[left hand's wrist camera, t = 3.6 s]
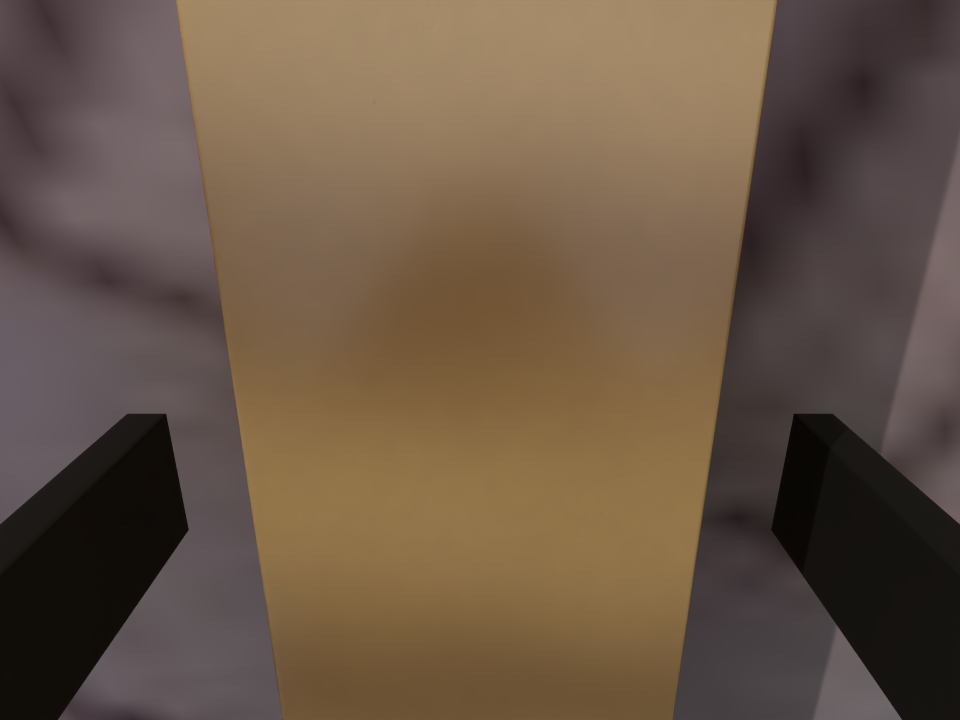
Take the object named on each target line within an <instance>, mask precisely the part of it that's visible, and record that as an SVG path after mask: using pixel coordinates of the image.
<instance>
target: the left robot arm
mask: <svg viewBox="0 0 960 720" xmlns="http://www.w3.org/2000/svg"><path fill="white" fill-rule="evenodd" d="M188 530H189V529H188V524H187V519H186V514H185V509H184V504H183V498H182V493H181V488H180V483H179V478H178V473H177V468H176V463H175V458H174V452H173V447H172V442H171V437H170V432H169V427H168V422H167V417H166V414H127V415H126V416H124V417H123V418H122V419H121V420H120V421H119V422H118V423H116V424H115V425H114V426H113V427H112V428H111V429H109V430H108V431H107V432H106V433H105V434H104V435H103V436H101V437H100V438H99V439H98V440H97V441H96V442H95V443H93V444H92V445H91V446H90V447H89V448H88V449H86V450H85V451H84V452H83V453H82V454H81V455H80V456H78V457H77V458H76V459H75V460H74V461H73V462H72V463H70V464H69V465H68V466H67V467H66V468H65V469H63V470H62V471H61V472H60V473H59V474H58V475H57V476H55V477H54V478H53V479H52V480H51V481H50V482H49V483H47V484H46V485H45V486H44V487H43V488H42V489H40V490H39V491H38V492H37V493H36V494H35V495H34V496H32V497H31V498H30V499H29V500H28V501H27V502H26V503H24V504H23V505H22V506H21V507H20V508H19V509H17V510H16V511H15V512H14V513H13V514H12V515H11V516H9V517H8V518H7V519H6V520H5V521H4V522H3V523H1V524H0V720H58V719H59V717H60V716H61V714H62V713H63V711H64V710H65V708H66V707H67V706H68V704H69V703H70V701H71V700H72V698H73V697H74V695H75V694H76V693H77V691H78V690H79V688H80V687H81V685H82V684H83V682H84V681H85V679H86V678H87V677H88V675H89V674H90V672H91V671H92V669H93V668H94V666H95V665H96V663H97V662H98V661H99V659H100V658H101V656H102V655H103V653H104V652H105V650H106V649H107V648H108V646H109V645H110V643H111V642H112V640H113V639H114V637H115V636H116V634H117V633H118V632H119V630H120V629H121V627H122V626H123V624H124V623H125V621H126V620H127V619H128V617H129V616H130V614H131V613H132V611H133V610H134V608H135V607H136V605H137V604H138V603H139V601H140V600H141V598H142V597H143V595H144V594H145V592H146V591H147V590H148V588H149V587H150V585H151V584H152V582H153V581H154V579H155V578H156V576H157V575H158V574H159V572H160V571H161V569H162V568H163V566H164V565H165V563H166V562H167V561H168V559H169V558H170V556H171V555H172V553H173V552H174V550H175V549H176V547H177V546H178V545H179V543H180V542H181V540H182V539H183V537H184V536H185V534H186V533H187V532H188ZM771 530H772V532H773V533H774V534H775V536H776V537H777V539H778V540H779V542H780V543H781V545H782V546H783V548H784V549H785V550H786V552H787V553H788V555H789V556H790V558H791V559H792V561H793V562H794V563H795V565H796V566H797V568H798V569H799V571H800V572H801V574H802V575H803V577H804V578H805V579H806V581H807V582H808V584H809V585H810V587H811V588H812V590H813V591H814V592H815V594H816V595H817V597H818V598H819V600H820V601H821V603H822V604H823V606H824V607H825V608H826V610H827V611H828V613H829V614H830V616H831V617H832V619H833V620H834V621H835V623H836V624H837V626H838V627H839V629H840V630H841V632H842V633H843V635H844V636H845V637H846V639H847V640H848V642H849V643H850V645H851V646H852V648H853V649H854V650H855V652H856V653H857V655H858V656H859V658H860V659H861V661H862V662H863V664H864V665H865V666H866V668H867V669H868V671H869V672H870V674H871V675H872V677H873V678H874V679H875V681H876V682H877V684H878V685H879V687H880V688H881V690H882V691H883V693H884V694H885V695H886V697H887V698H888V700H889V701H890V703H891V704H892V706H893V707H894V708H895V710H896V711H897V713H898V714H899V716H900V717H901V719H902V720H960V524H959V523H957V522H956V521H955V520H954V519H953V518H952V517H951V516H949V515H948V514H947V513H946V512H945V511H944V510H943V509H941V508H940V507H939V506H938V505H937V504H936V503H934V502H933V501H932V500H931V499H930V498H929V497H928V496H926V495H925V494H924V493H923V492H922V491H921V490H920V489H918V488H917V487H916V486H915V485H914V484H913V483H911V482H910V481H909V480H908V479H907V478H906V477H905V476H903V475H902V474H901V473H900V472H899V471H898V470H896V469H895V468H894V467H893V466H892V465H891V464H890V463H888V462H887V461H886V460H885V459H884V458H883V457H882V456H880V455H879V454H878V453H877V452H876V451H875V450H873V449H872V448H871V447H870V446H869V445H868V444H867V443H865V442H864V441H863V440H862V439H861V438H860V437H859V436H857V435H856V434H855V433H854V432H853V431H852V430H850V429H849V428H848V427H847V426H846V425H845V424H844V423H842V422H841V421H840V420H839V419H838V418H837V417H836V416H834V415H833V414H794V416H793V422H792V427H791V432H790V437H789V442H788V447H787V452H786V457H785V463H784V468H783V473H782V478H781V483H780V488H779V493H778V498H777V503H776V509H775V514H774V519H773V524H772V529H771Z"/></svg>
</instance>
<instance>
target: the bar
mask: <svg viewBox="0 0 960 720" xmlns="http://www.w3.org/2000/svg"><path fill="white" fill-rule="evenodd" d="M176 4H177V11H178V18H179V24H180V31H181V38H182V44H183V51H184V58H185V65H186V71H187V78H188V85H189V92H190V98H191V105H192V112H193V118H194V125H195V132H196V139H197V145H198V152H199V159H200V165H201V172H202V179H203V186H204V192H205V199H206V206H207V213H208V219H209V226H210V233H211V239H212V246H213V253H214V260H215V266H216V273H217V280H218V287H219V293H220V300H221V307H222V313H223V320H224V327H225V334H226V340H227V347H228V354H229V360H230V367H231V374H232V381H233V387H234V394H235V401H236V408H237V414H238V421H239V428H240V434H241V441H242V448H243V455H244V461H245V468H246V475H247V481H248V488H249V495H250V502H251V508H252V515H253V522H254V529H255V535H256V542H257V549H258V555H259V562H260V569H261V576H262V582H263V589H264V596H265V603H266V609H267V616H268V623H269V629H270V636H271V643H272V650H273V656H274V663H275V670H276V676H277V683H278V690H279V697H280V703H281V710H282V717H283V720H673V715H674V708H675V701H676V694H677V687H678V681H679V674H680V667H681V660H682V653H683V646H684V639H685V632H686V626H687V619H688V612H689V605H690V598H691V591H692V584H693V577H694V571H695V564H696V557H697V550H698V543H699V536H700V529H701V522H702V515H703V509H704V502H705V495H706V488H707V481H708V474H709V467H710V460H711V454H712V447H713V440H714V433H715V426H716V419H717V412H718V405H719V399H720V392H721V385H722V378H723V371H724V364H725V357H726V350H727V344H728V337H729V330H730V323H731V316H732V309H733V302H734V295H735V289H736V282H737V275H738V268H739V261H740V254H741V247H742V240H743V234H744V227H745V220H746V213H747V206H748V199H749V192H750V185H751V179H752V172H753V165H754V158H755V151H756V144H757V137H758V130H759V124H760V117H761V110H762V103H763V96H764V89H765V82H766V75H767V69H768V62H769V55H770V48H771V41H772V34H773V27H774V20H775V14H776V7H777V0H176Z"/></svg>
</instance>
